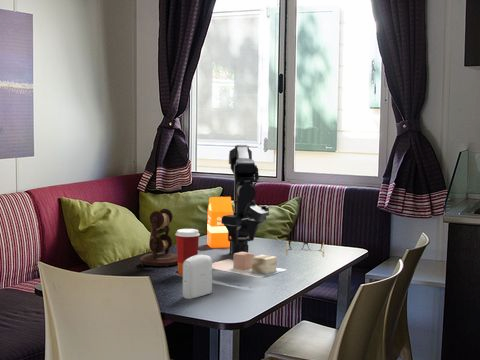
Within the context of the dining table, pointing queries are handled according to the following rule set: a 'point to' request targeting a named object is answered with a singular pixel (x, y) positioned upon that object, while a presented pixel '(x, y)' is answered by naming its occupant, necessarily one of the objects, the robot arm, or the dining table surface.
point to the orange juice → (218, 221)
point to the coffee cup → (186, 246)
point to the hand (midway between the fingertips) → (243, 242)
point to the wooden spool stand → (160, 241)
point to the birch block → (264, 264)
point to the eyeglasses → (307, 244)
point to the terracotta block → (242, 260)
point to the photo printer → (197, 276)
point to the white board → (228, 266)
